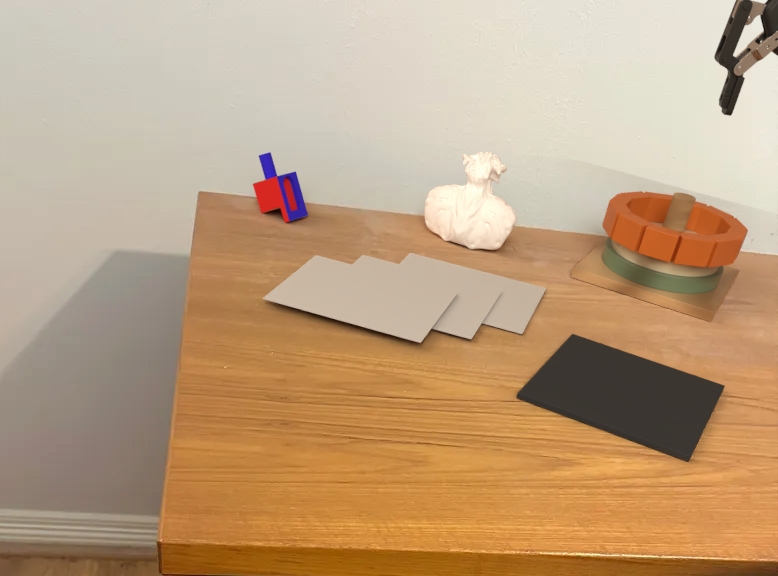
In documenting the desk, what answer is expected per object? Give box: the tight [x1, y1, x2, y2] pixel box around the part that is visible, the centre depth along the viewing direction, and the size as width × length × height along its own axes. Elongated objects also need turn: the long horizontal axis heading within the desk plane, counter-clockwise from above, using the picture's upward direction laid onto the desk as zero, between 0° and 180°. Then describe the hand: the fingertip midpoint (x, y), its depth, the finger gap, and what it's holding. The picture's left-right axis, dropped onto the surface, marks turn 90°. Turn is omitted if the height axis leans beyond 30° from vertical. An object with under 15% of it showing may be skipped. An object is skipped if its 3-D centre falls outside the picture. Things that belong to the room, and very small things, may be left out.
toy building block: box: [252, 152, 309, 223], centre depth 105 cm, size 4×4×8 cm
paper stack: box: [261, 252, 547, 344], centre depth 92 cm, size 23×25×1 cm
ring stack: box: [570, 192, 740, 323], centre depth 104 cm, size 17×17×10 cm
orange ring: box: [601, 191, 749, 268], centre depth 103 cm, size 16×16×3 cm
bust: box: [423, 151, 518, 251], centre depth 106 cm, size 12×8×11 cm
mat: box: [516, 333, 726, 463], centre depth 81 cm, size 16×16×1 cm
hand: (765, 120), depth 92 cm, fingers open, 8 cm apart
